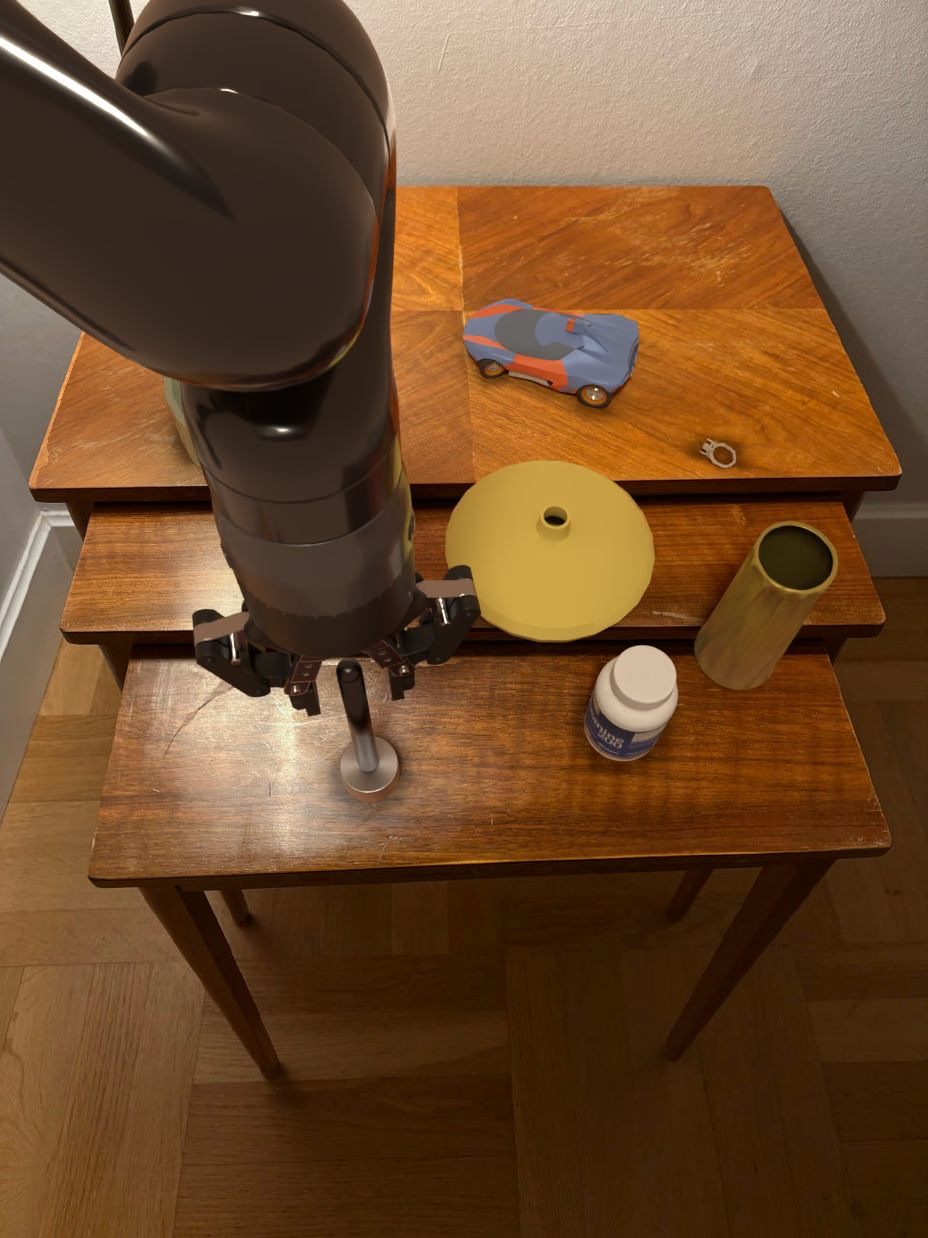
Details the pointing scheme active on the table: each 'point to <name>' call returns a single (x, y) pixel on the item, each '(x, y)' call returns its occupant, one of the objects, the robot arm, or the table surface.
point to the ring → (710, 450)
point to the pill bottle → (631, 703)
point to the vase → (765, 605)
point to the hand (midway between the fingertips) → (353, 691)
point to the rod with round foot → (364, 742)
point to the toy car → (554, 347)
